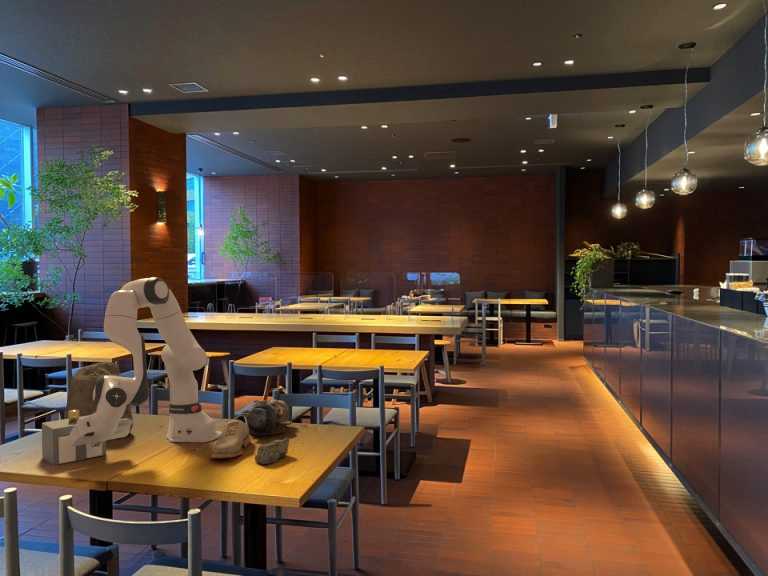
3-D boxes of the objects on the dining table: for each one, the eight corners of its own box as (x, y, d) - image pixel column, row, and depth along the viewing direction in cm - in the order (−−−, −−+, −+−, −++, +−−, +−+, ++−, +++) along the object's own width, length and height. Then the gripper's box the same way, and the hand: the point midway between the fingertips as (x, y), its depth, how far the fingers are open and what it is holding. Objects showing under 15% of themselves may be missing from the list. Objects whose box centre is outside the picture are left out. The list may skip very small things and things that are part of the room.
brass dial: (81, 420, 224) (81, 410, 223) (74, 423, 220) (74, 412, 220) (73, 420, 224) (73, 409, 224) (66, 422, 221) (66, 411, 221)
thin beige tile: (75, 460, 216) (75, 434, 216) (59, 463, 212) (59, 437, 212) (64, 453, 225) (64, 428, 225) (48, 456, 221) (48, 431, 221)
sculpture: (292, 439, 245) (292, 405, 245) (239, 442, 241) (239, 407, 241) (289, 424, 270) (289, 393, 270) (241, 426, 266) (240, 395, 265)
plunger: (102, 455, 222) (101, 429, 222) (86, 458, 219) (86, 432, 219) (90, 448, 231) (89, 424, 231) (75, 451, 228) (74, 426, 227)
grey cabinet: (106, 454, 224) (105, 420, 224) (53, 465, 212) (52, 429, 211) (93, 447, 233) (93, 414, 233) (42, 457, 221) (41, 422, 221)
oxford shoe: (204, 465, 212) (203, 432, 211) (224, 440, 243) (223, 412, 243) (236, 464, 212) (235, 432, 212) (251, 440, 244) (251, 411, 243)
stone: (89, 422, 276) (88, 357, 275) (157, 425, 269) (157, 359, 269) (49, 436, 251) (48, 365, 251) (123, 440, 245) (122, 367, 244)
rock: (268, 439, 227) (292, 434, 225) (272, 457, 227) (296, 452, 224) (246, 450, 211) (271, 445, 208) (250, 470, 210) (275, 464, 208)
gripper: (131, 411, 222) (121, 432, 229) (72, 420, 207) (63, 443, 215) (136, 425, 219) (126, 446, 226) (76, 435, 204) (67, 458, 211)
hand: (95, 445), depth 220 cm, fingers closed, pressing on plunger
